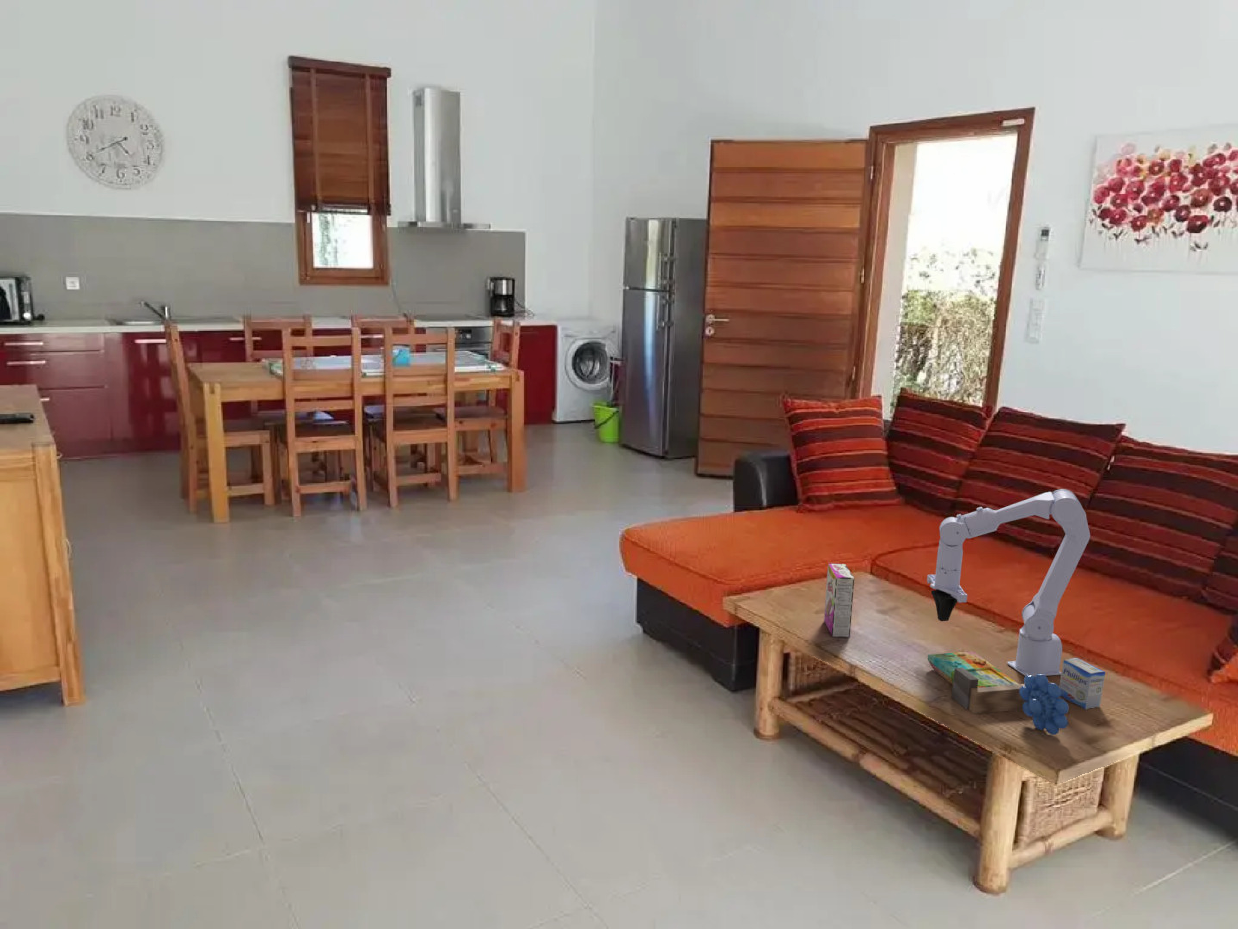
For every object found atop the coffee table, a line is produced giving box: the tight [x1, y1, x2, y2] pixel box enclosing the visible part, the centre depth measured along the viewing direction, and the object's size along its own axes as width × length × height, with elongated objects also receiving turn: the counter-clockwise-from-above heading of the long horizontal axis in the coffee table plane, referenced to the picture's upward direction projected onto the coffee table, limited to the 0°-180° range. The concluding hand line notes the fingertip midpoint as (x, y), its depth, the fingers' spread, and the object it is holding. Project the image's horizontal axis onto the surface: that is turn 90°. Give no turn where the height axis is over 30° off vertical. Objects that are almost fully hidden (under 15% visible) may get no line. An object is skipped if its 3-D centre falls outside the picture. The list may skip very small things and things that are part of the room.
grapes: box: [1019, 674, 1070, 736], centre depth 200 cm, size 12×7×12 cm, turn 30°
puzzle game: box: [927, 650, 1019, 688], centre depth 222 cm, size 12×5×20 cm
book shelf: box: [951, 668, 1054, 715], centre depth 213 cm, size 20×8×7 cm, turn 103°
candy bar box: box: [823, 563, 855, 638], centre depth 251 cm, size 11×5×16 cm, turn 179°
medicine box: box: [1058, 657, 1106, 710], centre depth 215 cm, size 8×4×9 cm, turn 22°
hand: (943, 620), depth 236 cm, fingers closed
